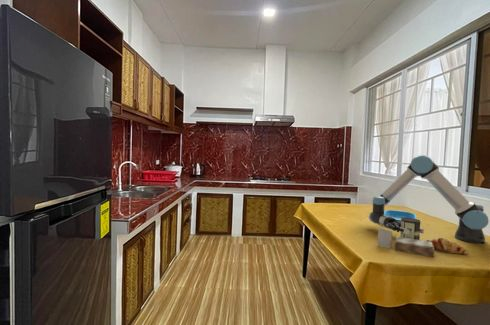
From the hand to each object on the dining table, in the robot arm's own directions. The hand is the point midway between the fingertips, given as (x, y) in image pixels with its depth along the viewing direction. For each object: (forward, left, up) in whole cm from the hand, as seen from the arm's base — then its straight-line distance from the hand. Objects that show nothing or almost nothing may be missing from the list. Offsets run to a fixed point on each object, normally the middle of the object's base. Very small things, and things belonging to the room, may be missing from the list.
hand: (416, 231), depth 160 cm
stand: (+1, +13, -8) cm, 15 cm away
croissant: (-14, +2, -8) cm, 16 cm away
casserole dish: (+9, -53, -8) cm, 55 cm away
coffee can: (+3, -3, -8) cm, 9 cm away
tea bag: (+16, +15, -8) cm, 23 cm away
